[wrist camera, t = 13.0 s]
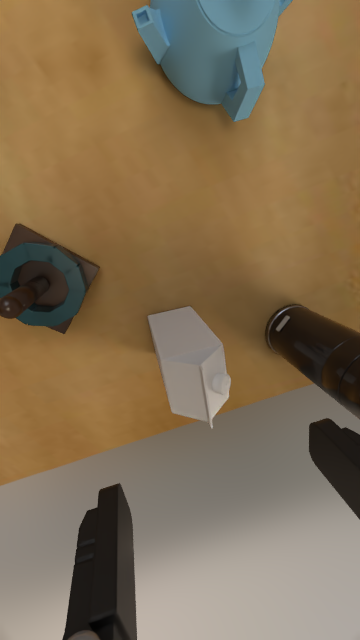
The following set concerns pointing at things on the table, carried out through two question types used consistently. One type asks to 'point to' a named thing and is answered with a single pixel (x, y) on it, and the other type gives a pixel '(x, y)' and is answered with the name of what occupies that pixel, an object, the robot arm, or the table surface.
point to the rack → (39, 280)
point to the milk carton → (190, 363)
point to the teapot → (212, 47)
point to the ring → (7, 267)
